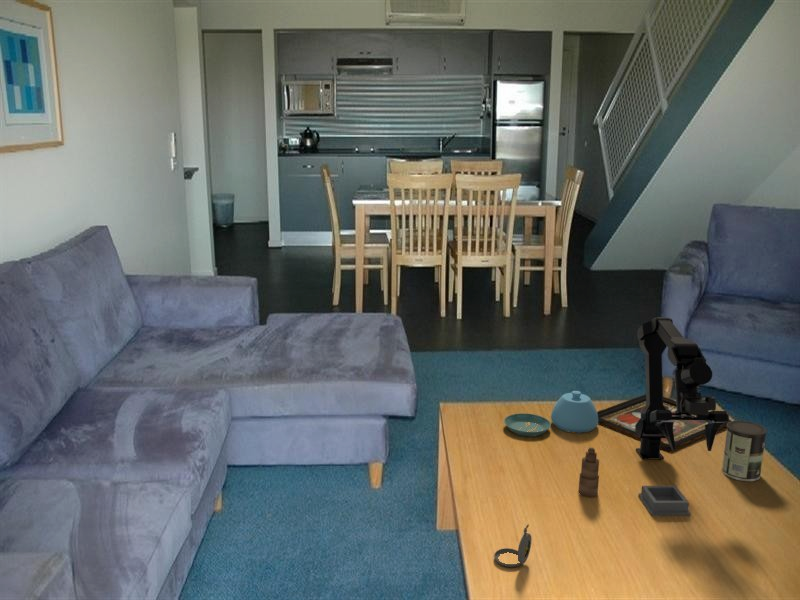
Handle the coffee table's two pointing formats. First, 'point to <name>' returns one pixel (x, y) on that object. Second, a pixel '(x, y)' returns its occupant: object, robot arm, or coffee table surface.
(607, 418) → the framed icon painting
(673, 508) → the slate open box
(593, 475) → the pepper mill
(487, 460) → the coffee table surface
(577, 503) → the coffee table surface
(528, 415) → the saucer
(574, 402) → the sugar bowl
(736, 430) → the coffee can
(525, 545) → the pocket watch
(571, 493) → the coffee table surface
